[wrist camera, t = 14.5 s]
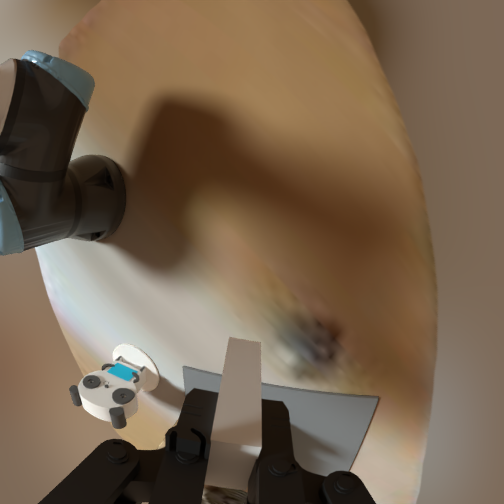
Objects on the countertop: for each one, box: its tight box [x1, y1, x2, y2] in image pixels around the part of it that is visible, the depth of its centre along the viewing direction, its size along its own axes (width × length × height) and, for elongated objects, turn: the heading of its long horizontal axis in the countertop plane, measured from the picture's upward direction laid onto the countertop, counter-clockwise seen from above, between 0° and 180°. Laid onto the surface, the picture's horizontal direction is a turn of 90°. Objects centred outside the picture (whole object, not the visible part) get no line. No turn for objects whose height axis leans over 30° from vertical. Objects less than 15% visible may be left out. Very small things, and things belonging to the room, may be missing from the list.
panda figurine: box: [69, 344, 159, 429], centre depth 47 cm, size 12×11×15 cm
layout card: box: [183, 366, 379, 476], centre depth 49 cm, size 34×26×1 cm
